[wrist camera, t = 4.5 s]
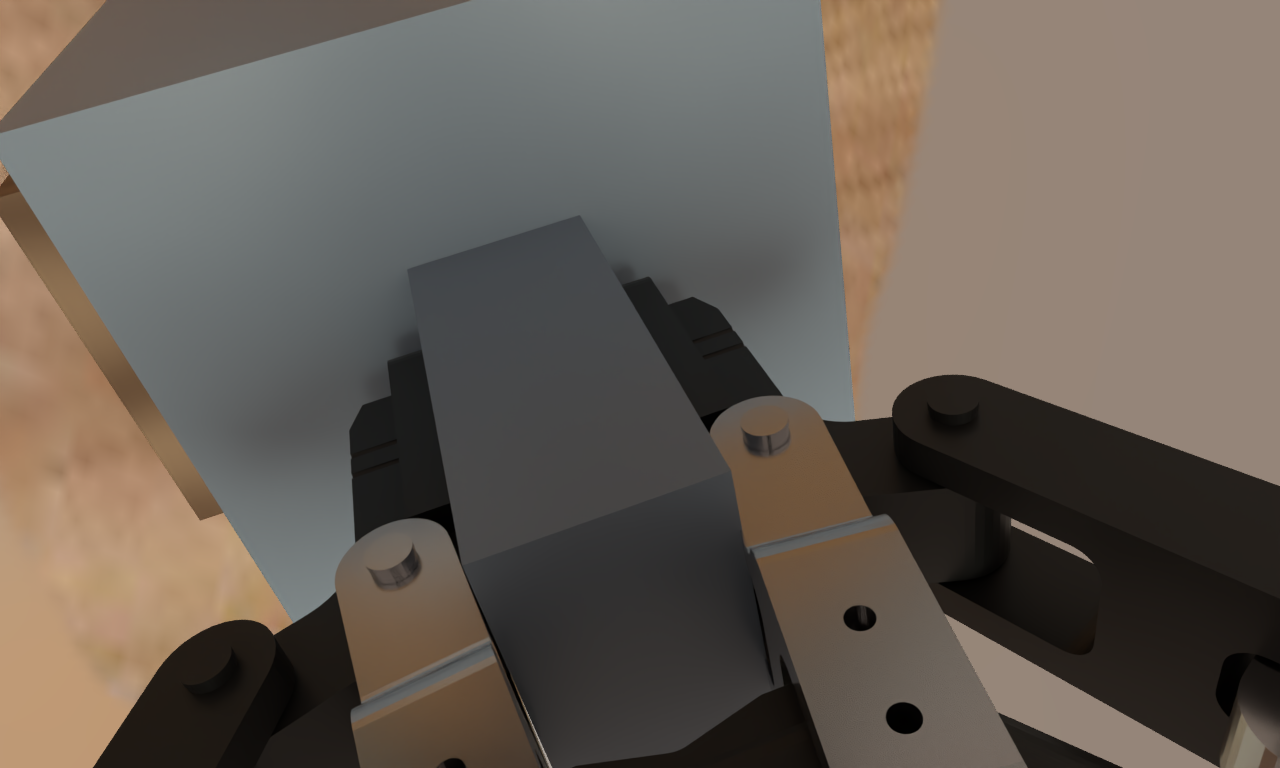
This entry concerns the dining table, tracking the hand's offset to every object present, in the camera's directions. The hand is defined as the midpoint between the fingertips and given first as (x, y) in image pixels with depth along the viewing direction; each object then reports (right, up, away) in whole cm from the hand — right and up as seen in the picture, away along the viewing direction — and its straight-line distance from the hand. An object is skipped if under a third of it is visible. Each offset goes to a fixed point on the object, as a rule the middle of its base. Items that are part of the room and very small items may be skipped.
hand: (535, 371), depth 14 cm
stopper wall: (-17, +1, +22) cm, 28 cm away
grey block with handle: (-2, +5, +7) cm, 9 cm away
